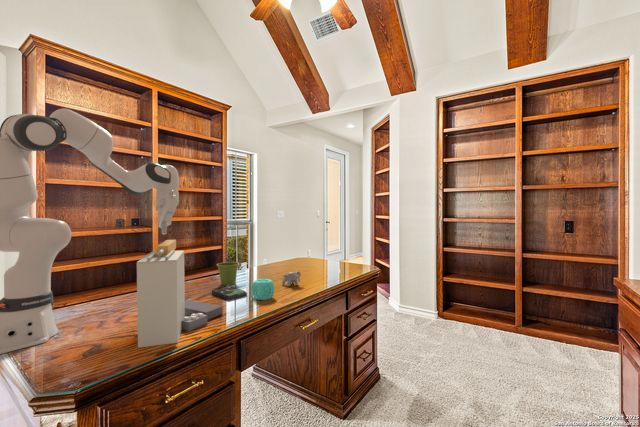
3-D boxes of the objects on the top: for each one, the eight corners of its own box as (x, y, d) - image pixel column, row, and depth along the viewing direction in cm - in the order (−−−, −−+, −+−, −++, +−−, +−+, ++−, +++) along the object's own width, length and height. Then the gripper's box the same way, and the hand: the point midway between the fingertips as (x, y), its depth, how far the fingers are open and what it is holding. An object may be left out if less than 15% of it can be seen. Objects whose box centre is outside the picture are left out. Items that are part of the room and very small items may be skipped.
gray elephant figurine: (289, 283, 174) (288, 269, 174) (307, 284, 168) (306, 270, 168) (279, 287, 166) (278, 272, 166) (298, 288, 160) (297, 273, 160)
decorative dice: (267, 294, 151) (267, 278, 151) (274, 298, 144) (274, 281, 144) (251, 297, 146) (251, 280, 146) (258, 301, 140) (258, 283, 140)
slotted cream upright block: (177, 342, 97) (176, 256, 97) (137, 347, 94) (136, 258, 93) (184, 318, 118) (184, 247, 118) (152, 321, 115) (151, 249, 114)
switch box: (189, 331, 106) (189, 320, 106) (179, 328, 108) (179, 317, 108) (207, 323, 113) (207, 313, 113) (197, 321, 116) (197, 310, 116)
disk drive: (211, 296, 150) (228, 301, 141) (211, 290, 150) (228, 295, 141) (230, 291, 158) (247, 296, 148) (229, 286, 158) (247, 290, 148)
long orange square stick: (163, 260, 96) (163, 249, 96) (151, 260, 95) (151, 249, 95) (176, 248, 125) (175, 239, 124) (166, 248, 123) (166, 239, 123)
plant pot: (232, 280, 179) (232, 260, 179) (243, 284, 171) (242, 263, 170) (213, 283, 171) (212, 263, 171) (222, 288, 163) (222, 266, 162)
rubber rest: (206, 320, 116) (206, 312, 116) (170, 312, 125) (170, 304, 125) (222, 313, 123) (222, 306, 123) (187, 306, 132) (187, 299, 132)
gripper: (180, 189, 128) (180, 219, 123) (170, 211, 143) (169, 238, 137) (163, 186, 125) (162, 217, 119) (155, 209, 139) (153, 238, 134)
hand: (166, 229), depth 128 cm, fingers open, 8 cm apart
